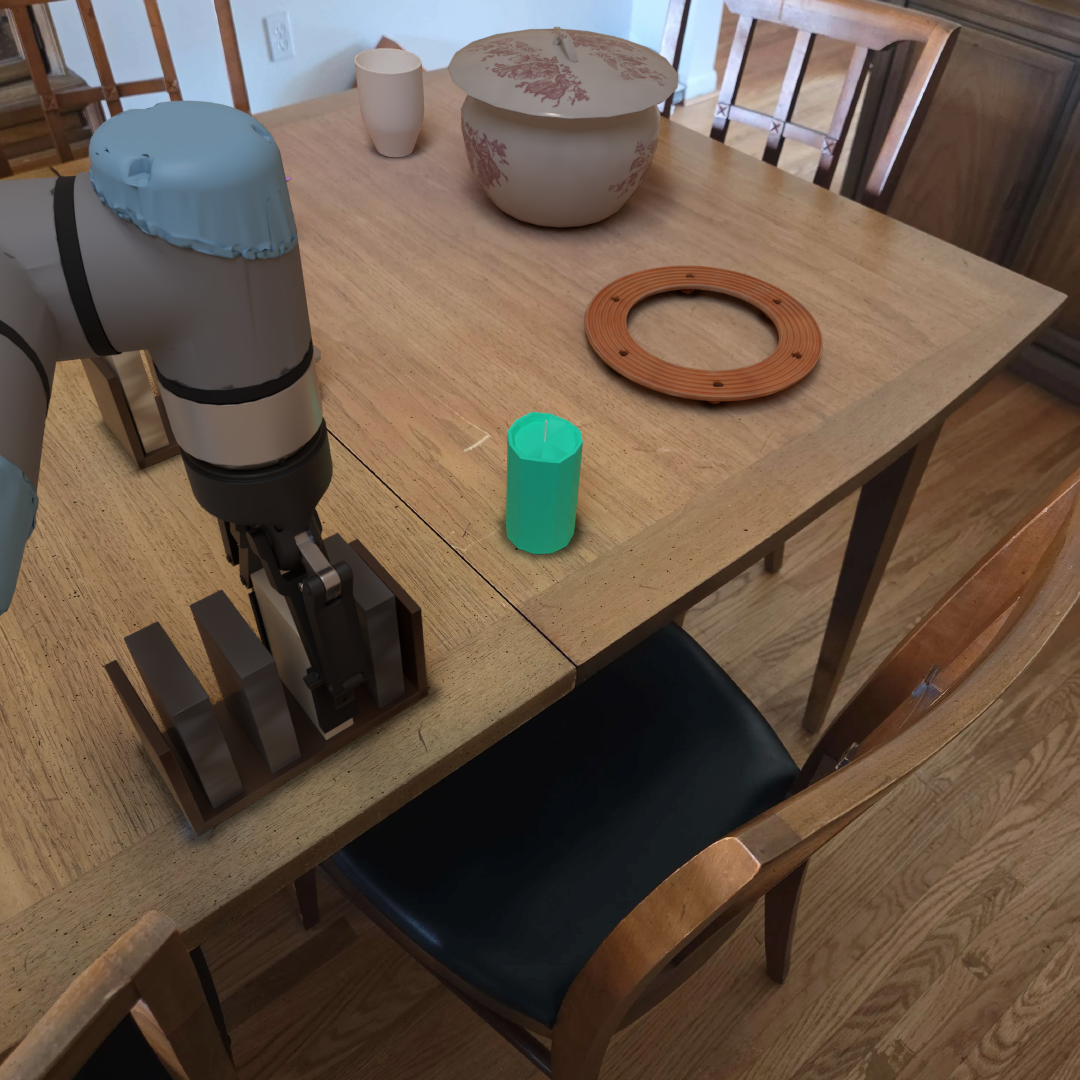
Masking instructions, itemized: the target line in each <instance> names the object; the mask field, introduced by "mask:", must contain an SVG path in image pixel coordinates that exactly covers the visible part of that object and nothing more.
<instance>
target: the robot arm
mask: <svg viewBox="0 0 1080 1080" xmlns="http://www.w3.org/2000/svg"><path fill="white" fill-rule="evenodd" d="M88 156H89V161H90V166H89V171H79V172H78V173H77V174H76V175H67V176H66V175H65V176H64V175H62V176H54V177H53V176H52V177H51V176H50V177H35V178H17V179H0V617H2V615H4V614H5V613H6V612H8V611H9V608H10V606H11V604H12V601H13V598H14V594H15V592H16V588H17V583H18V580H19V579H18V578H19V575H20V571H21V566H22V562H23V559H24V554H25V548H26V545H27V542H28V541H29V539H30V538H31V537H32V534H33V533H34V531H35V528H36V526H37V512H38V509H39V504H40V503H39V502H40V499H39V496H38V488H39V487H38V486H39V479H40V470H41V462H42V452H43V444H44V438H45V437H44V436H45V428H46V420H47V417H48V414H49V408H50V404H51V403H50V402H51V398H52V393H53V385H54V380H55V373H56V367H57V363H61V362H67V361H68V362H69V361H74V360H75V361H76V360H81V359H85V358H93V357H101V356H111V355H119V354H121V353H122V352H130V351H139V352H140V351H144V350H148V352H149V354H150V356H151V358H152V361H153V365H154V372H155V376H156V379H157V382H158V386H159V389H160V392H161V395H162V399H163V402H164V405H165V408H166V412H167V415H168V418H169V421H170V425H171V428H172V431H173V434H174V436H175V438H176V441H177V443H178V444H179V448H180V456H181V459H182V462H183V466H184V469H185V472H186V475H187V478H188V483H189V485H190V488H191V492H192V494H193V497H194V498H195V500H196V503H198V505H199V506H201V508H202V509H203V510H204V511H206V512H207V513H208V514H210V515H212V516H213V517H215V518H216V520H217V524H218V528H219V531H220V536H221V541H222V545H223V550H224V553H225V559H226V561H227V563H228V564H230V565H231V566H232V567H233V568H234V567H236V566H238V565H239V566H238V567H239V580H240V582H241V584H242V586H245V588H246V590H251V591H250V592H249V593H248V594H247V595H248V599H249V603H250V607H251V609H252V614H253V617H254V620H255V625H256V629H257V631H258V635H259V639H260V641H261V642H262V643H263V645H264V646H265V647H266V649H267V650H268V651H269V653H270V654H271V655H272V652H271V649H270V645H269V641H268V638H267V634H266V630H265V627H264V623H263V619H262V616H261V612H260V608H259V605H258V601H257V597H256V594H255V590H254V586H253V583H252V579H251V574H252V573H254V572H256V571H258V570H260V569H262V568H264V570H265V572H266V575H267V578H268V580H269V583H270V585H271V587H272V588H273V589H275V590H276V591H277V592H278V593H279V594H280V595H282V596H284V597H285V600H286V602H287V605H288V608H289V610H290V613H291V615H292V618H293V621H294V623H295V626H296V628H297V631H298V633H299V636H300V639H301V641H302V644H303V646H304V649H305V652H306V654H307V657H308V659H309V662H310V665H311V667H310V668H308V669H306V672H307V675H306V676H305V677H303V680H304V682H305V684H306V686H307V687H308V688H309V689H310V690H311V693H312V697H313V702H314V706H315V710H316V714H317V719H318V723H319V727H320V728H321V729H322V731H323V732H324V733H325V734H326V733H328V732H329V731H331V730H333V729H334V728H336V727H338V726H339V725H341V724H343V723H344V722H346V721H348V720H349V719H351V718H353V717H354V716H356V715H358V714H359V713H360V711H359V705H358V699H357V693H356V688H355V686H357V685H359V684H361V683H362V682H364V681H366V680H367V679H369V678H371V677H372V676H371V671H370V666H369V662H368V658H367V653H366V649H365V644H364V640H363V636H362V631H361V627H360V622H359V618H358V614H357V609H356V605H355V600H354V596H353V573H352V568H351V567H350V565H348V563H347V562H346V561H344V560H341V561H339V562H337V563H335V564H333V565H331V563H330V560H329V557H328V554H327V551H326V549H325V546H324V543H323V540H324V539H323V537H322V534H323V530H324V529H323V523H322V522H321V518H320V516H319V513H318V511H317V509H316V508H317V506H318V505H319V504H320V502H321V500H322V498H323V497H324V495H326V492H327V491H328V489H329V488H330V485H331V482H332V479H333V473H334V466H333V465H334V464H333V459H332V452H331V445H330V440H329V433H328V428H327V423H326V419H325V417H324V410H323V403H322V396H321V389H320V383H319V376H318V368H317V363H318V362H320V361H321V359H322V355H321V353H322V352H321V350H320V349H319V348H318V346H317V345H315V344H314V343H313V337H312V330H311V328H312V327H311V322H310V321H311V320H310V315H309V308H308V307H309V306H308V301H307V294H306V287H305V278H304V272H303V271H304V270H303V265H302V258H301V252H300V250H301V249H300V243H299V237H298V236H299V235H298V229H297V225H296V219H295V214H294V211H293V205H292V202H291V197H290V192H289V187H288V182H286V177H287V176H286V174H285V169H284V168H285V167H284V164H283V158H282V154H281V150H280V148H279V146H278V144H277V142H276V141H275V138H274V136H273V135H272V133H271V132H270V131H269V129H268V128H267V127H266V126H265V125H264V124H263V123H261V122H260V120H258V119H257V118H255V117H254V116H253V115H251V114H249V113H248V112H247V113H246V112H245V111H243V110H241V109H238V108H236V107H233V106H229V105H226V104H223V103H217V102H211V101H203V100H171V101H170V100H169V101H161V102H156V104H154V105H153V106H151V107H147V108H131V109H130V108H129V109H126V110H124V111H122V112H120V113H117V114H115V115H113V116H111V117H110V118H108V119H107V120H105V121H104V122H103V123H101V124H100V125H99V127H97V129H96V130H95V131H94V132H93V133H92V136H91V137H90V140H89V145H88ZM280 570H281V571H288V572H286V573H284V574H282V575H281V572H280ZM272 657H273V656H272Z"/></svg>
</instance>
